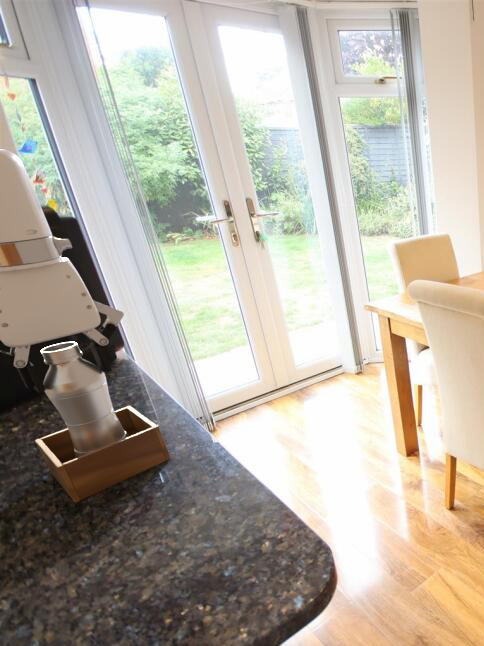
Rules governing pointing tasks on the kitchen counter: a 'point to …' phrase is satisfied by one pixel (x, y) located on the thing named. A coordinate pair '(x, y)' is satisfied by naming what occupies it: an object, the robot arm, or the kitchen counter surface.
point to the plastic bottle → (81, 398)
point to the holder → (104, 456)
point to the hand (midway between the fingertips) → (73, 378)
